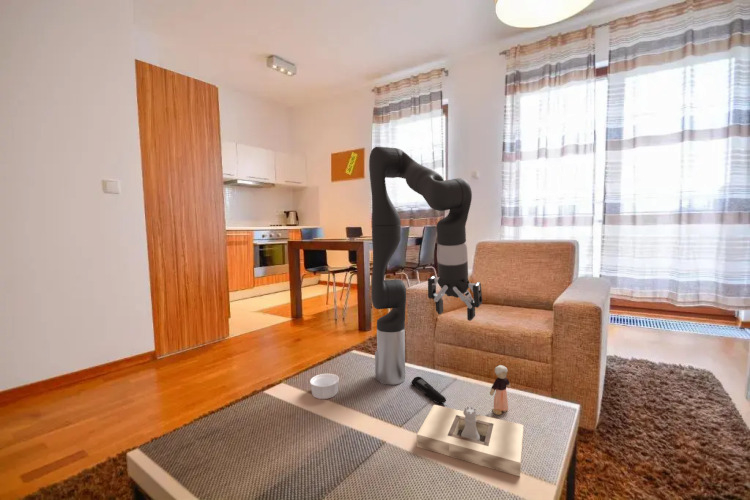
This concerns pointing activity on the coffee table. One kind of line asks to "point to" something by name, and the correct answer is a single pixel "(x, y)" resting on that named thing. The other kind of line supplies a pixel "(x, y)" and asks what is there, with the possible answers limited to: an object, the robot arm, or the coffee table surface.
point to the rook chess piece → (470, 424)
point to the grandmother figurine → (500, 390)
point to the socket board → (494, 453)
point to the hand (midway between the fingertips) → (455, 316)
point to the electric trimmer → (428, 390)
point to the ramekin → (324, 386)
